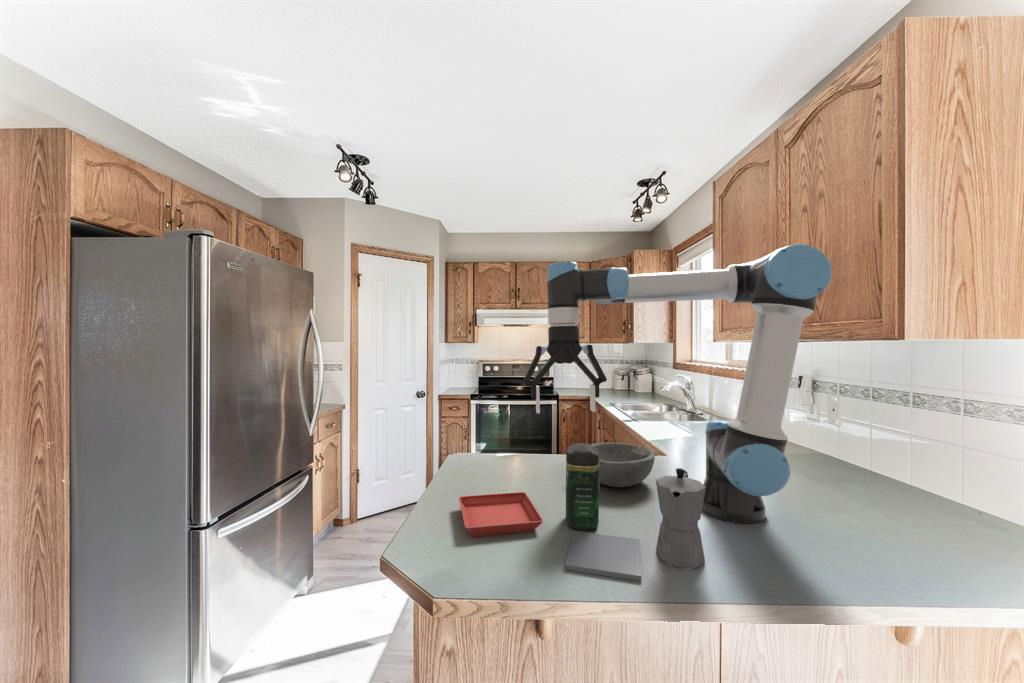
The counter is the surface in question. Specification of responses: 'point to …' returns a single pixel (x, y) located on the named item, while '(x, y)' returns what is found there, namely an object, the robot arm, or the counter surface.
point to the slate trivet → (605, 555)
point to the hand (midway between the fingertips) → (565, 411)
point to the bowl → (623, 463)
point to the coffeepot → (680, 520)
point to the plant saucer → (499, 513)
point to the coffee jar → (582, 486)
